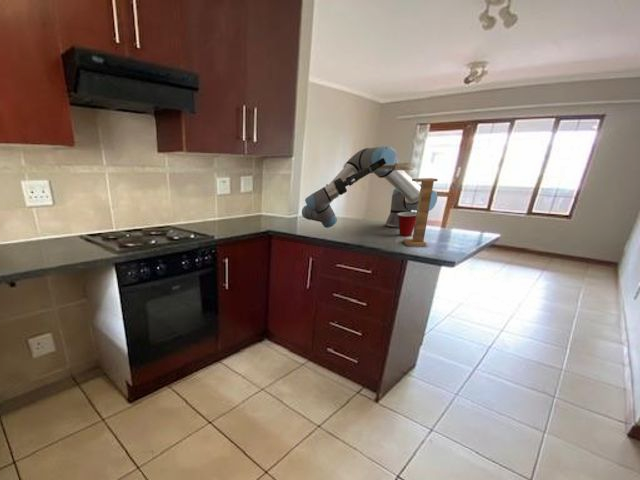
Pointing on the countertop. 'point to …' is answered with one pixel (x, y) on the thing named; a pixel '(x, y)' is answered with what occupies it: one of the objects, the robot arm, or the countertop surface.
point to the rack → (421, 212)
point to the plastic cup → (406, 223)
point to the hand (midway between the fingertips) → (384, 160)
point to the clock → (398, 166)
